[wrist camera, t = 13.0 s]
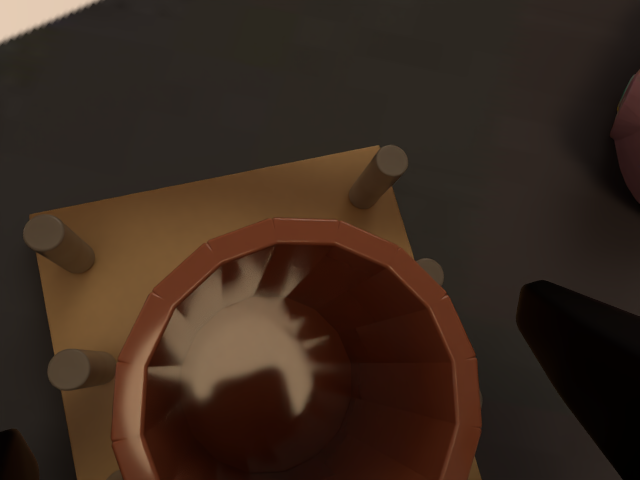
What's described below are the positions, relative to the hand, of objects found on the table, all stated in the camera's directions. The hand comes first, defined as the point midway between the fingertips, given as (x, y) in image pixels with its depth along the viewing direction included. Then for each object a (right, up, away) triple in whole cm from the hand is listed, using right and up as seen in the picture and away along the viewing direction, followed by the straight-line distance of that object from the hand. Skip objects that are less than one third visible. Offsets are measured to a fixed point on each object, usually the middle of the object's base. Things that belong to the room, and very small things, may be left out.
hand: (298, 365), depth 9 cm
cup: (-1, -2, +8) cm, 8 cm away
